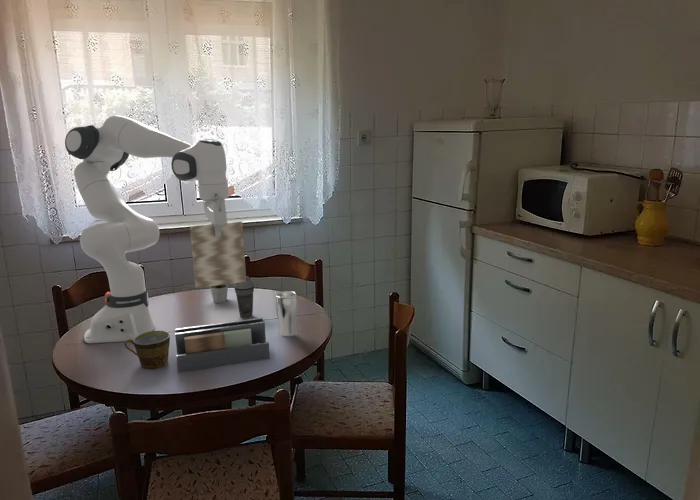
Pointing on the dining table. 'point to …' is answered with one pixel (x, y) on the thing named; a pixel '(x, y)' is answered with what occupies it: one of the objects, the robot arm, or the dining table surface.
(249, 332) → the sage offcut
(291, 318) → the silver metal cylinder
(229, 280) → the beige brown zigzag panel
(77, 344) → the dining table surface
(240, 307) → the beverage cup
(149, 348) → the ceramic cup
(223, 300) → the house plant
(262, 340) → the offcut rack
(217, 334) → the walnut offcut
